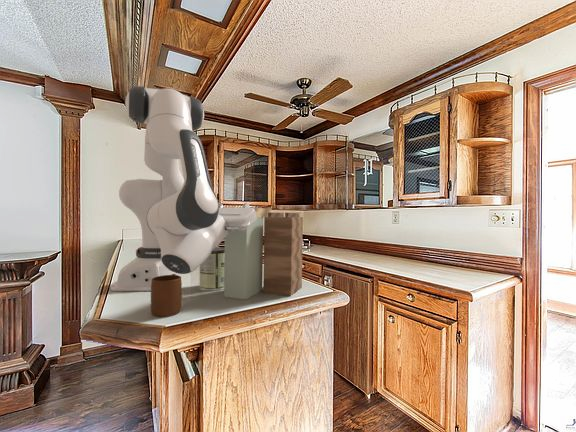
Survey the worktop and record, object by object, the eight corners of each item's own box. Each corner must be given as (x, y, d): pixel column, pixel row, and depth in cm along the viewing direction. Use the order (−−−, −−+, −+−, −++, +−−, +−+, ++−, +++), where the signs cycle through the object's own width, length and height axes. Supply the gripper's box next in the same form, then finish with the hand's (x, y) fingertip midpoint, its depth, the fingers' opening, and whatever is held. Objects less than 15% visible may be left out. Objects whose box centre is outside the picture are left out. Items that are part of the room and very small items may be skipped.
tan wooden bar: (234, 216, 86) (234, 207, 86) (224, 216, 88) (224, 207, 88) (271, 216, 103) (271, 208, 103) (262, 216, 105) (262, 208, 105)
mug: (162, 303, 84) (162, 271, 84) (188, 302, 85) (188, 271, 84) (146, 318, 72) (146, 281, 72) (176, 317, 73) (177, 280, 73)
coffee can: (205, 283, 108) (205, 246, 108) (231, 284, 107) (232, 247, 107) (193, 290, 98) (194, 250, 98) (222, 291, 97) (223, 250, 97)
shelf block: (245, 299, 88) (246, 216, 88) (224, 296, 91) (225, 216, 91) (262, 289, 100) (263, 216, 99) (242, 287, 102) (243, 216, 102)
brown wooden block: (290, 296, 93) (292, 212, 92) (263, 292, 96) (264, 212, 96) (301, 287, 104) (302, 213, 104) (276, 284, 107) (277, 212, 107)
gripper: (241, 219, 72) (262, 195, 83) (177, 218, 79) (204, 196, 90) (247, 239, 75) (266, 214, 86) (185, 237, 82) (210, 213, 93)
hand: (234, 205), depth 88 cm, fingers open, 8 cm apart
